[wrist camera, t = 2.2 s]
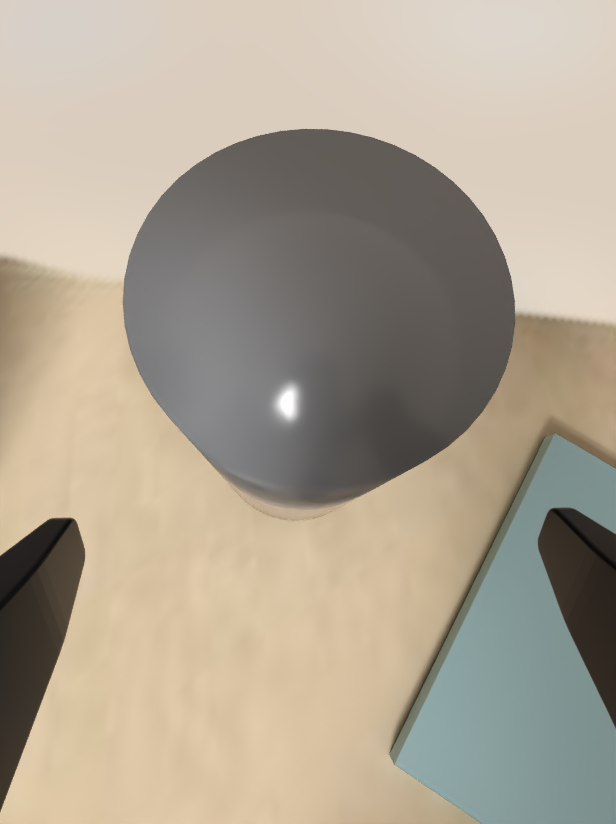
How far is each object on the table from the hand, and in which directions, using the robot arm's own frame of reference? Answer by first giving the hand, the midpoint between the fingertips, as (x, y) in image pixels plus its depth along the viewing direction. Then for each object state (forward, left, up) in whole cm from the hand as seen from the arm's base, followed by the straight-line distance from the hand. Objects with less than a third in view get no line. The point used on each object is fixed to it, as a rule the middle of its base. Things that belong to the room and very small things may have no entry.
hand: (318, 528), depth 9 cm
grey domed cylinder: (+3, +2, -11) cm, 11 cm away
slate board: (+2, -13, -11) cm, 17 cm away
